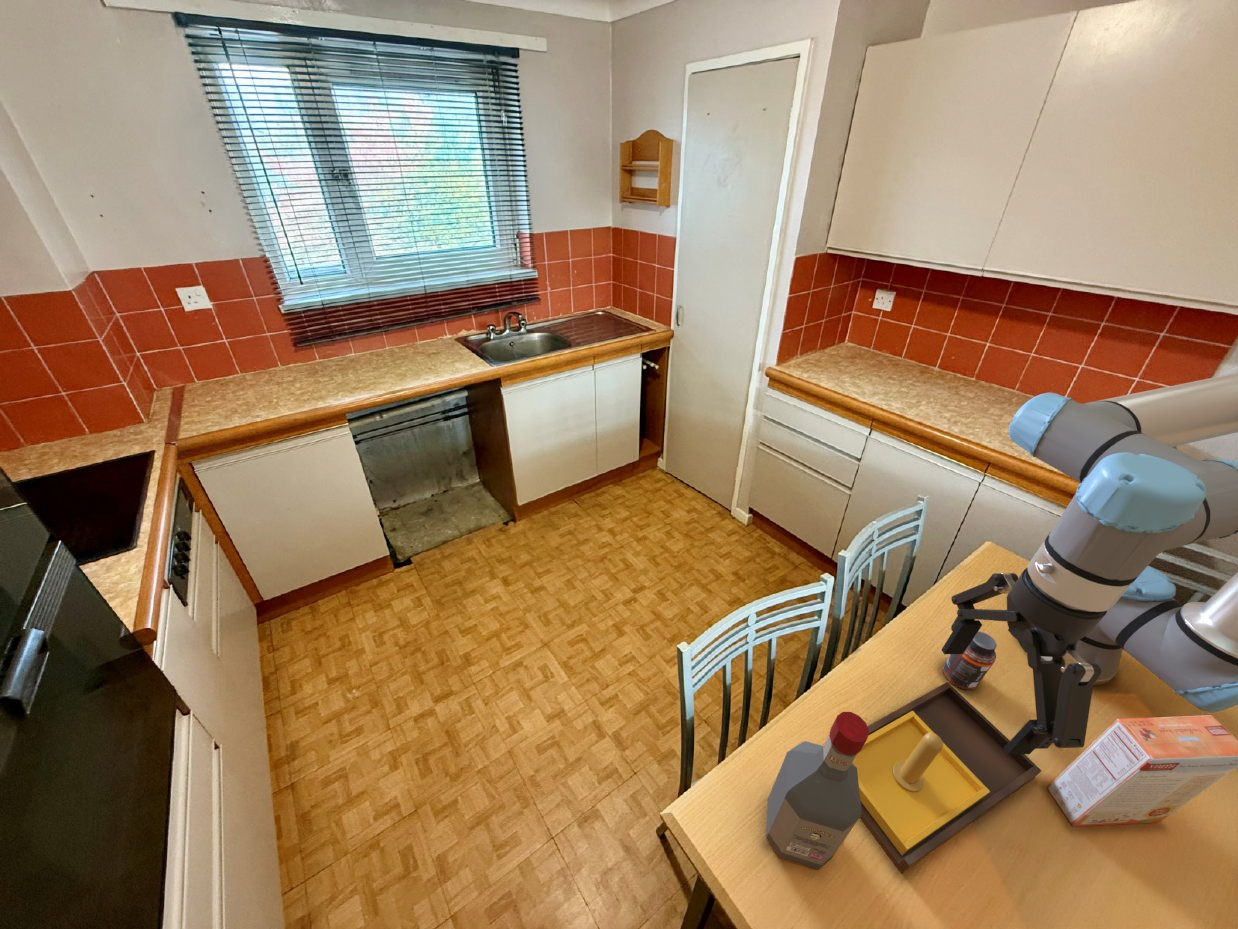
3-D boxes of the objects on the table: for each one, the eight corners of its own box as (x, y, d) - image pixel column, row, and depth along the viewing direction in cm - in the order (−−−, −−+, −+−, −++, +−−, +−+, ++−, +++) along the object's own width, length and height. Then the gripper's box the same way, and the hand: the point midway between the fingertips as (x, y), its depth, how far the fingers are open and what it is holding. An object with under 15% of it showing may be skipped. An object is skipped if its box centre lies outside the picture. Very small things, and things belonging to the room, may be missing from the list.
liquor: (830, 877, 71) (901, 779, 54) (764, 855, 73) (812, 754, 56) (826, 807, 78) (888, 700, 61) (766, 789, 80) (810, 681, 63)
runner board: (940, 691, 95) (947, 681, 93) (1032, 779, 82) (1042, 770, 80) (817, 760, 84) (822, 751, 82) (901, 874, 72) (909, 866, 70)
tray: (908, 717, 89) (935, 674, 81) (984, 798, 78) (1023, 757, 71) (830, 762, 82) (852, 719, 75) (901, 856, 72) (936, 818, 65)
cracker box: (1125, 782, 82) (1214, 712, 70) (1159, 825, 77) (1260, 758, 65) (1042, 784, 82) (1116, 715, 70) (1070, 828, 77) (1156, 761, 65)
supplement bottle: (980, 695, 94) (1007, 659, 88) (944, 685, 96) (969, 649, 89) (973, 668, 99) (998, 631, 92) (939, 659, 100) (962, 622, 94)
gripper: (963, 511, 64) (906, 619, 76) (1132, 699, 44) (1018, 805, 56) (1020, 511, 64) (954, 618, 76) (1216, 697, 44) (1083, 803, 56)
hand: (981, 697), depth 66 cm, fingers open, 13 cm apart
